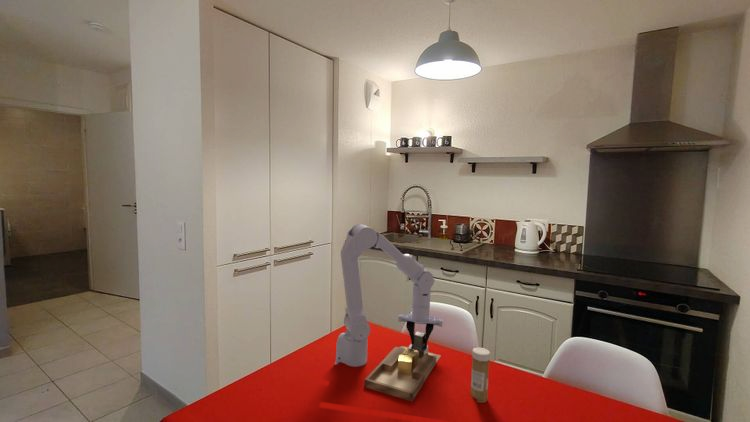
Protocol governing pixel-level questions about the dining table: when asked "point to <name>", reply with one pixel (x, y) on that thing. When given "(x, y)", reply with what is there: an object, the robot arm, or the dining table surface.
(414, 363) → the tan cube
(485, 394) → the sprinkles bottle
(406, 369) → the golden brown cube
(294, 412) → the dining table surface
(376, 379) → the slot board
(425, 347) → the brushed metal block
